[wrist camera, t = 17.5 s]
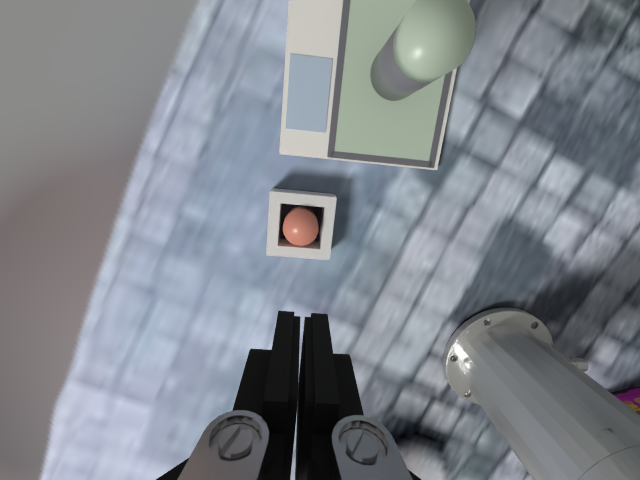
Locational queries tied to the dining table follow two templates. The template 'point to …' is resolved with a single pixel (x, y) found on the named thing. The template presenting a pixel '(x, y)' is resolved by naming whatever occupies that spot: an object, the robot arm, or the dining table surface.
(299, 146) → the picture board
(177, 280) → the dining table surface
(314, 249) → the button housing
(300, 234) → the button
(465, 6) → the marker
